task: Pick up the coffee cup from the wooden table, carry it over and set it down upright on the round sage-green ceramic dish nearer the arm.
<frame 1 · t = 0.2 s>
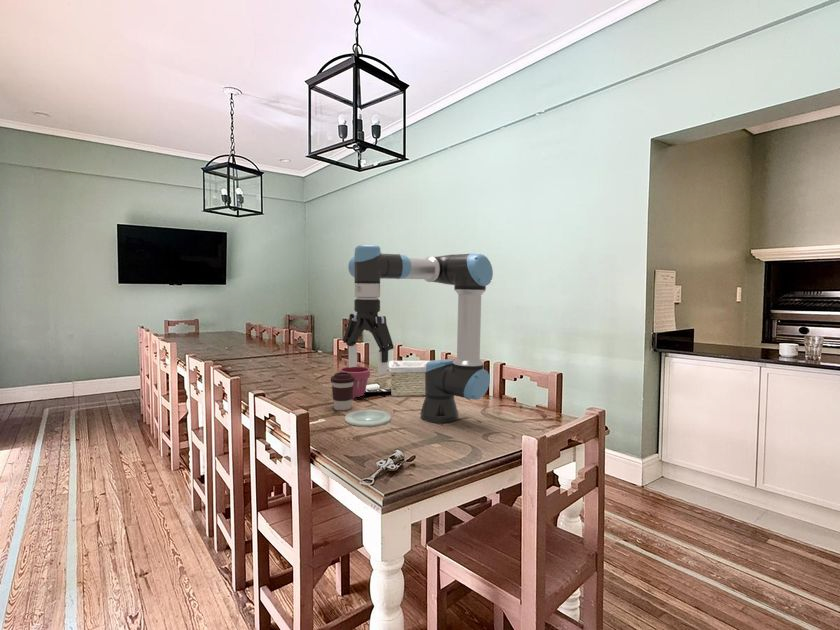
hand: (367, 370, 132), 28 cm above the table, tool pointing down, fingers open, 13 cm apart
storage basket: (412, 393, 218), on the table
dish: (368, 419, 175), on the table
plant pot: (354, 396, 210), on the table
coffee cup: (342, 408, 189), on the table
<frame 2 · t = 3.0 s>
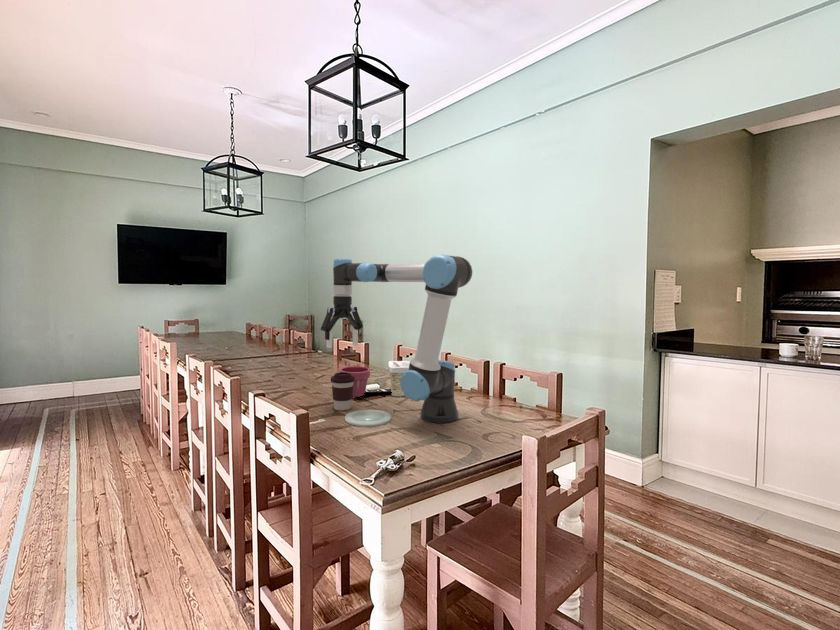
hand: (342, 346, 187), 27 cm above the table, tool pointing down, fingers open, 13 cm apart
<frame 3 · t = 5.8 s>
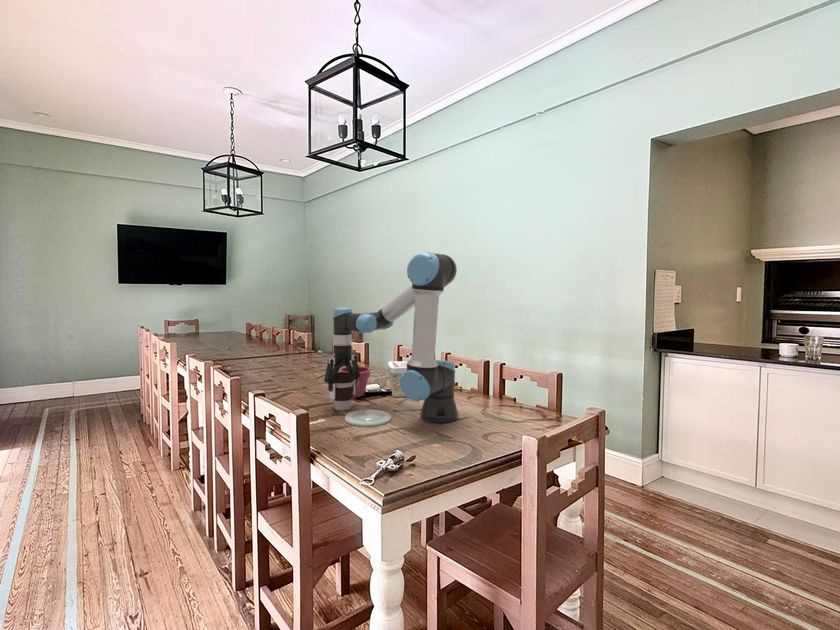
hand: (342, 396, 189), 5 cm above the table, tool pointing down, fingers closed on coffee cup, 10 cm apart
coffee cup: (342, 408, 189), on the table, touching gripper
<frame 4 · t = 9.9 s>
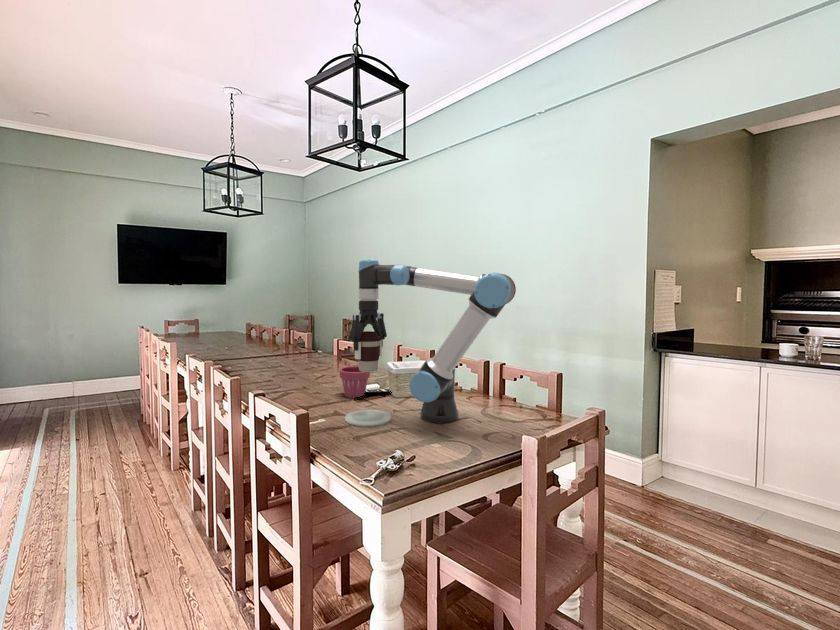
hand: (368, 357, 173), 25 cm above the table, tool pointing down, fingers closed on coffee cup, 10 cm apart
coffee cup: (368, 370, 173), point 19 cm above the table, touching gripper
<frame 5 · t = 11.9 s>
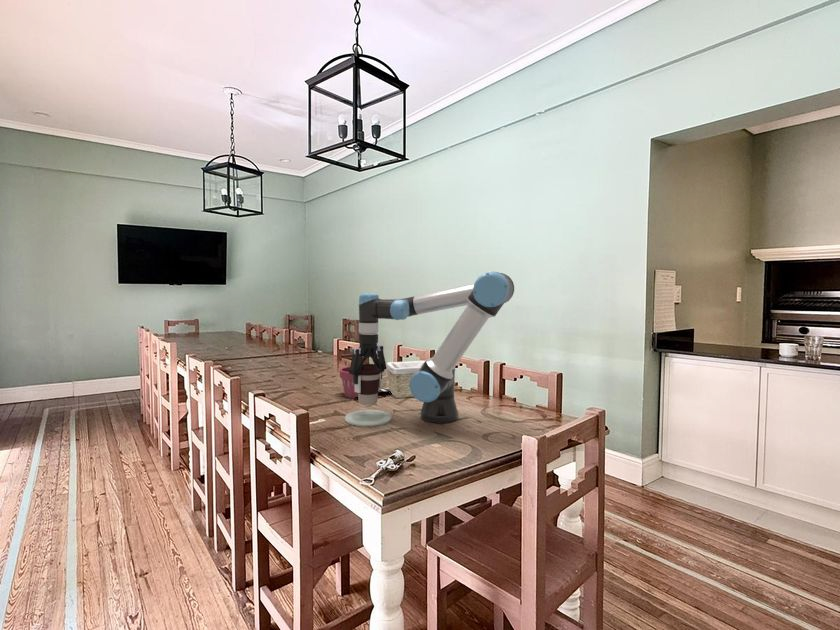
hand: (368, 389, 174), 12 cm above the table, tool pointing down, fingers closed on coffee cup, 10 cm apart
coffee cup: (367, 403, 174), point 6 cm above the table, touching gripper
when the fingers open (7 cm above the table, at t = 13.9 s): coffee cup stays where it is, resting on dish.
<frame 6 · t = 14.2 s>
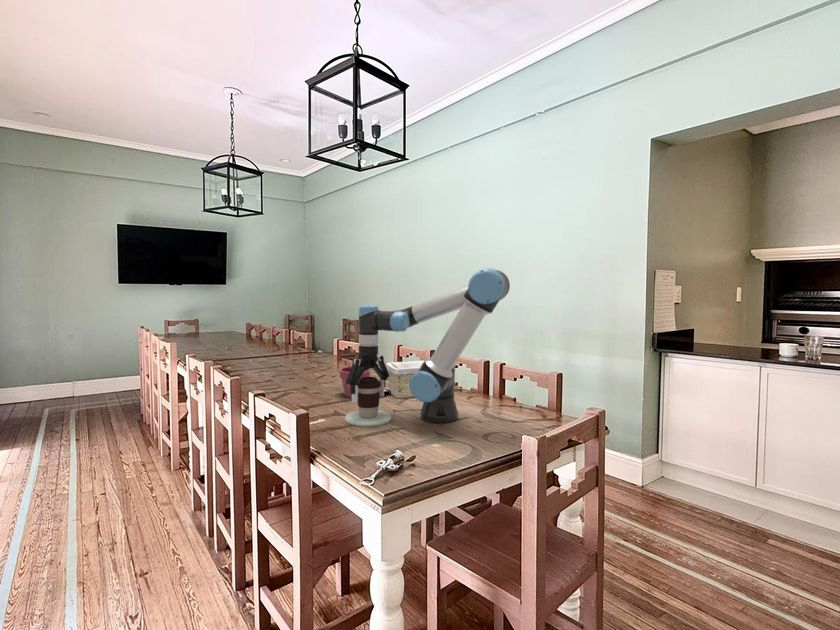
hand: (368, 398, 174), 8 cm above the table, tool pointing down, fingers open, 13 cm apart
coffee cup: (368, 416, 175), point 1 cm above the table, touching dish
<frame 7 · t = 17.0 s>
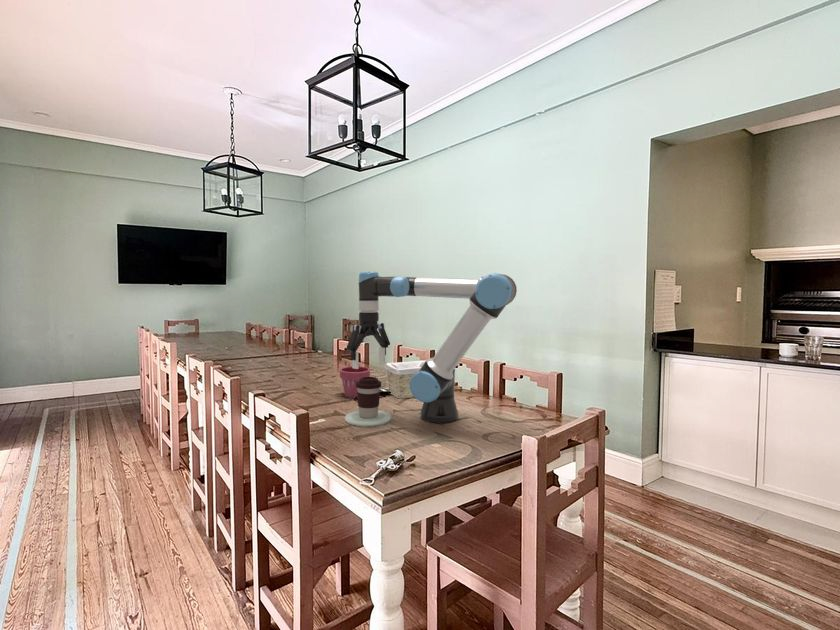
hand: (369, 366, 173), 21 cm above the table, tool pointing down, fingers open, 13 cm apart
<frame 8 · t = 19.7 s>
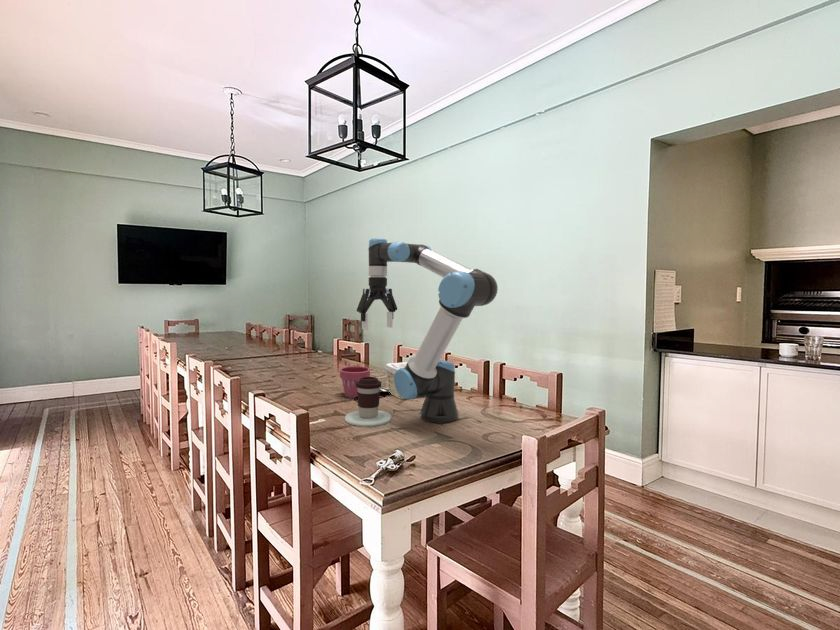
hand: (377, 328, 184), 35 cm above the table, tool pointing down, fingers open, 13 cm apart
at the end: coffee cup inside the target area on the dish (0.1 cm from its centre), point 1.1 cm above the dish's base; coffee cup tilted 0°; the gripper is holding nothing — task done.
